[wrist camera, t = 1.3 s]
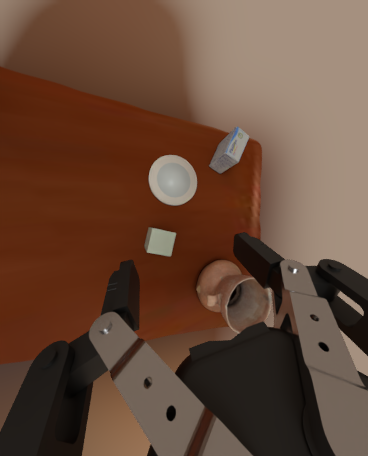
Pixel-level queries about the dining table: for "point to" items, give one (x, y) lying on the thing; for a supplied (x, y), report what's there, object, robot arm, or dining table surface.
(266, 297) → the ceramic jug
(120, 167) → the dining table surface
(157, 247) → the sage block
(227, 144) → the medicine box
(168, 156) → the dish
